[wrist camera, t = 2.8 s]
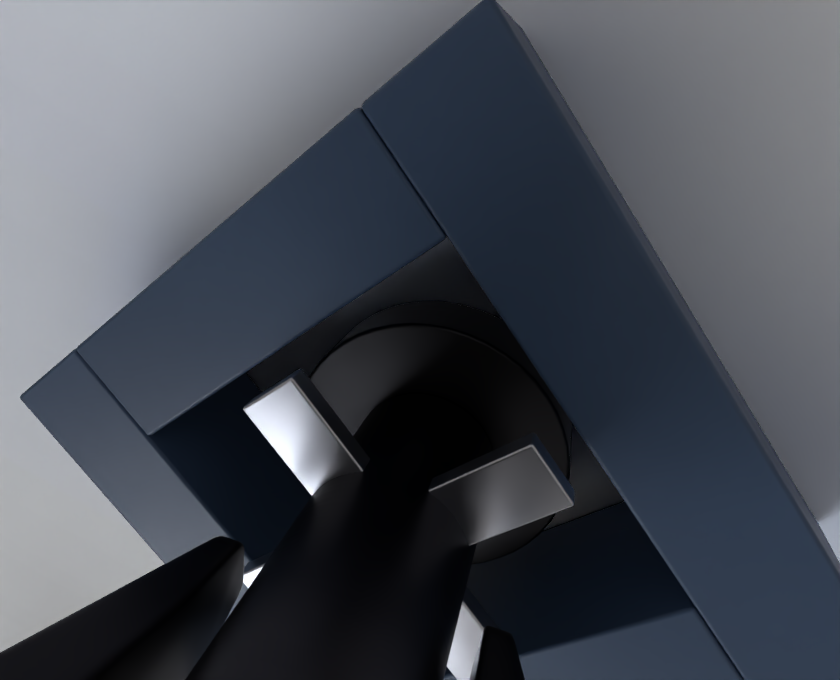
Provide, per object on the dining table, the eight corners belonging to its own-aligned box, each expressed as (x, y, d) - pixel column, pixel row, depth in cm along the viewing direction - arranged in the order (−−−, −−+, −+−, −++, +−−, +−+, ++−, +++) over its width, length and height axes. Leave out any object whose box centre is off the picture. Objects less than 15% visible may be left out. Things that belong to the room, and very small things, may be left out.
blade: (412, 564, 16) (180, 1185, 7) (262, 370, 14) (-257, 806, 6) (642, 476, 13) (767, 1327, 4) (478, 228, 12) (139, 641, 3)
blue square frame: (394, 655, 17) (351, 779, 14) (134, 335, 15) (17, 397, 12) (819, 525, 12) (899, 672, 9) (519, 24, 10) (489, -8, 7)
